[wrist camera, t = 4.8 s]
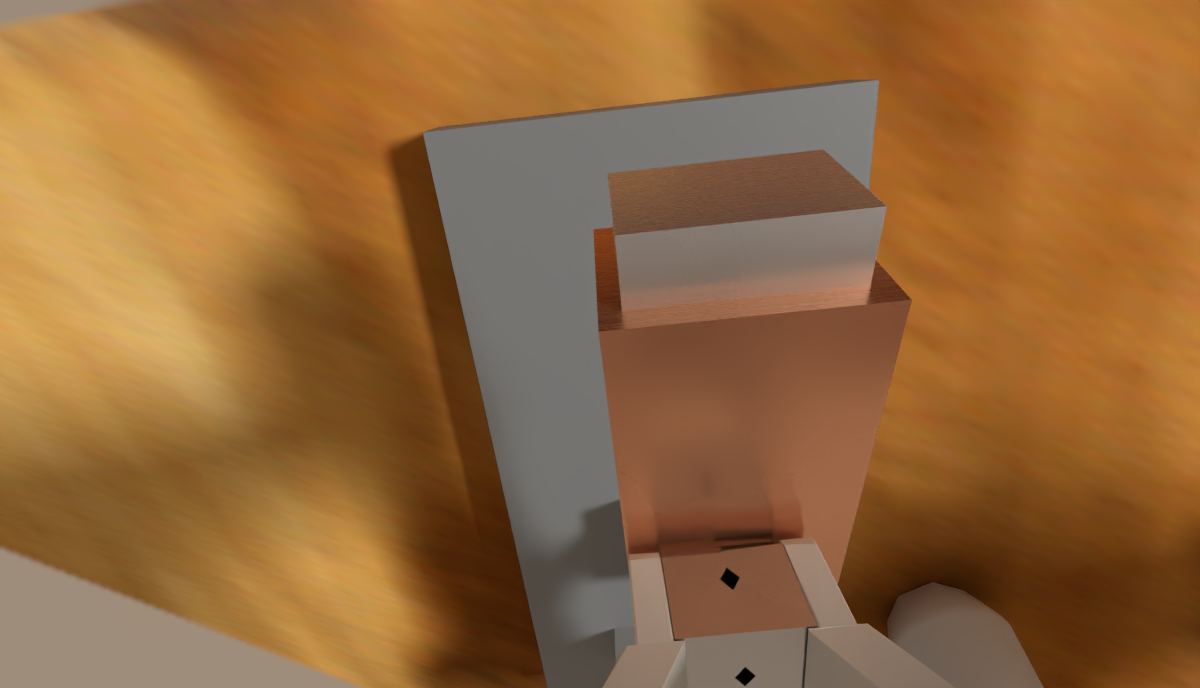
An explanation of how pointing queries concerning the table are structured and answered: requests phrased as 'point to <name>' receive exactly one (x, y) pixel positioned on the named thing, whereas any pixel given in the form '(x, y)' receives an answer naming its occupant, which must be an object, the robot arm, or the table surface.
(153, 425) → the table surface
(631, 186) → the lever
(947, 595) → the salt shaker
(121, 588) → the table surface
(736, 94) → the base
